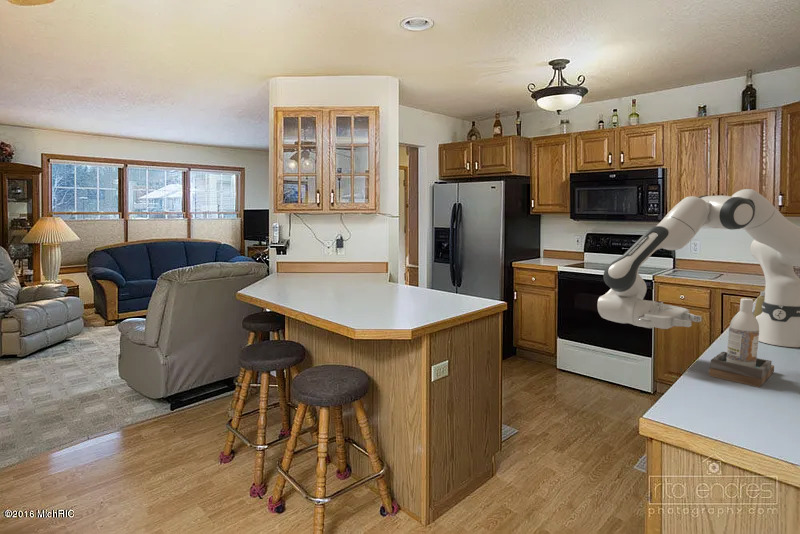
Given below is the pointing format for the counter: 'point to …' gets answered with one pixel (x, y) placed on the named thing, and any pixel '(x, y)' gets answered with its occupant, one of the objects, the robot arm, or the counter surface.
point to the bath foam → (743, 336)
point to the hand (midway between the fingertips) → (695, 321)
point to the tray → (741, 370)
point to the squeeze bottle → (759, 304)
